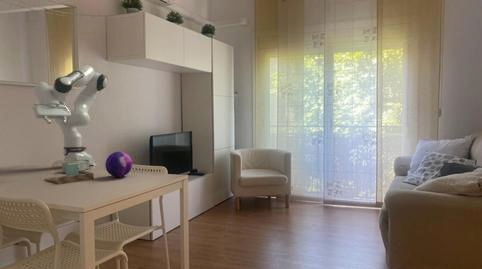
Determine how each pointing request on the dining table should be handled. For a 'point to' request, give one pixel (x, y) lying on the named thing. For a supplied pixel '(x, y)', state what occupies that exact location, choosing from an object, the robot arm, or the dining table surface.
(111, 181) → the dining table surface
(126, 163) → the decorative orb
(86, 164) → the coffee box
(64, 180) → the tray
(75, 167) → the teal block
